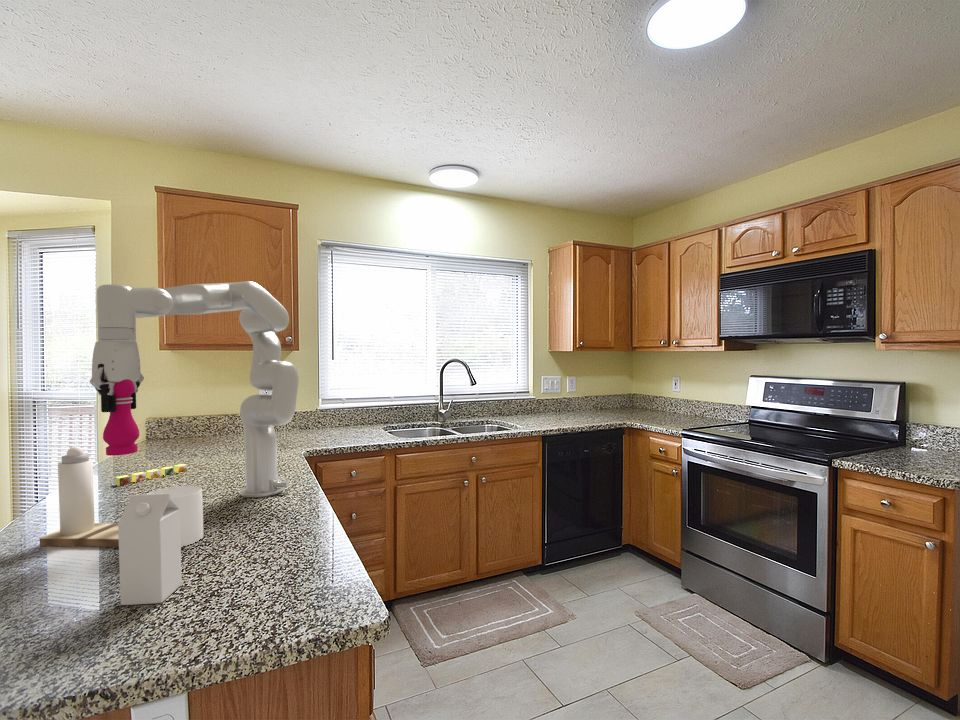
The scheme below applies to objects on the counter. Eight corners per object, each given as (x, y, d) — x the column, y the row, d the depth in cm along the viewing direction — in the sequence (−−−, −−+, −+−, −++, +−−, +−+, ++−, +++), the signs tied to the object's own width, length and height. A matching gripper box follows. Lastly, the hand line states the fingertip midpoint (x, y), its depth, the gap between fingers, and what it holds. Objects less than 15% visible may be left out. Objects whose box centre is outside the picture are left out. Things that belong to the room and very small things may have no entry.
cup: (143, 554, 112) (141, 501, 112) (149, 537, 122) (148, 489, 122) (202, 544, 117) (201, 494, 117) (204, 529, 128) (203, 482, 127)
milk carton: (143, 587, 96) (140, 489, 96) (182, 585, 97) (179, 488, 96) (120, 606, 89) (117, 500, 89) (161, 603, 90) (158, 499, 89)
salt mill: (101, 525, 126) (98, 443, 125) (78, 535, 119) (75, 449, 119) (76, 525, 126) (74, 443, 126) (52, 535, 119) (49, 449, 119)
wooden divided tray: (158, 531, 126) (157, 523, 126) (127, 547, 116) (127, 538, 116) (76, 530, 128) (76, 523, 128) (39, 546, 118) (39, 537, 118)
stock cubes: (86, 484, 176) (86, 475, 176) (180, 466, 203) (180, 457, 203) (130, 497, 159) (129, 487, 159) (226, 475, 186) (225, 466, 186)
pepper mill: (126, 449, 126) (123, 370, 125) (147, 450, 123) (144, 370, 123) (96, 455, 119) (93, 372, 119) (117, 456, 116) (114, 371, 116)
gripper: (130, 337, 130) (131, 406, 130) (71, 335, 112) (73, 415, 113) (157, 337, 129) (159, 406, 129) (102, 334, 112) (104, 414, 112)
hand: (119, 409), depth 121 cm, fingers closed on pepper mill, 5 cm apart
